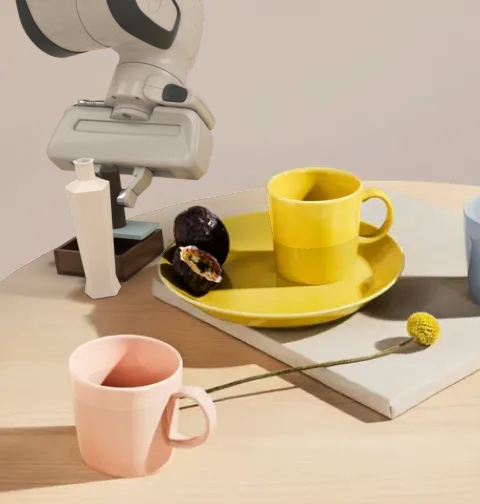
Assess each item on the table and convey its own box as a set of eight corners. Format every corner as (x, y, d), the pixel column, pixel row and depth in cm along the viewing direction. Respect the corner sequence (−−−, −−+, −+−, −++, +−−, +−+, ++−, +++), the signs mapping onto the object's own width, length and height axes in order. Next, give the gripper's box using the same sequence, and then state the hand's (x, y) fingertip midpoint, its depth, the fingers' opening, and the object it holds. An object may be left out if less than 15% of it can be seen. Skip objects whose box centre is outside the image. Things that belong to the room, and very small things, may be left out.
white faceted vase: (72, 298, 103) (50, 166, 97) (95, 281, 107) (75, 154, 101) (109, 302, 102) (89, 169, 96) (131, 286, 106) (113, 156, 100)
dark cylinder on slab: (75, 233, 112) (65, 172, 109) (95, 221, 115) (86, 161, 113) (141, 240, 109) (133, 177, 106) (159, 227, 113) (152, 166, 110)
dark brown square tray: (57, 274, 109) (52, 250, 108) (99, 245, 117) (96, 222, 116) (125, 281, 107) (122, 257, 106) (164, 251, 115) (162, 228, 113)
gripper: (56, 85, 115) (20, 186, 111) (208, 92, 110) (177, 199, 105) (82, 112, 121) (49, 209, 116) (228, 120, 115) (199, 222, 111)
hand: (111, 204), depth 111 cm, fingers closed on dark cylinder on slab, 2 cm apart
